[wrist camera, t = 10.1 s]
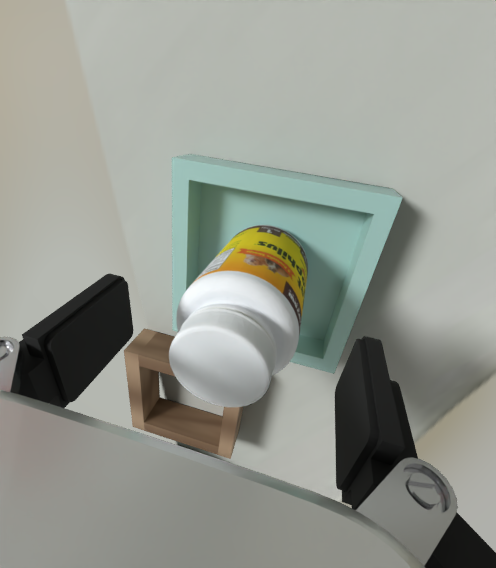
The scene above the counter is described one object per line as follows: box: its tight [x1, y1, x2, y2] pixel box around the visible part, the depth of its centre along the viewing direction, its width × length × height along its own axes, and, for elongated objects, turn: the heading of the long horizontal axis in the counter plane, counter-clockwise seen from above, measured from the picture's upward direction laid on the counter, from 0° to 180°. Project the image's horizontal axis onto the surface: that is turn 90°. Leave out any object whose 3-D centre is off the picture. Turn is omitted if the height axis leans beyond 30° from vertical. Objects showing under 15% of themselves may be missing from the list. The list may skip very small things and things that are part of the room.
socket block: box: [124, 329, 243, 459], centre depth 26 cm, size 10×10×3 cm
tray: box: [172, 154, 403, 373], centre depth 19 cm, size 12×12×2 cm
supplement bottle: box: [169, 225, 308, 407], centre depth 15 cm, size 6×6×10 cm
